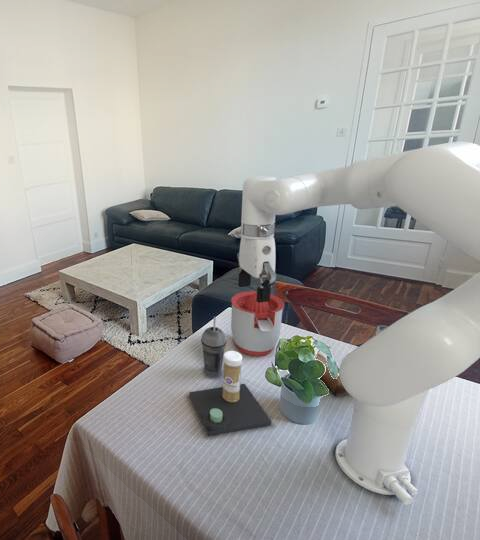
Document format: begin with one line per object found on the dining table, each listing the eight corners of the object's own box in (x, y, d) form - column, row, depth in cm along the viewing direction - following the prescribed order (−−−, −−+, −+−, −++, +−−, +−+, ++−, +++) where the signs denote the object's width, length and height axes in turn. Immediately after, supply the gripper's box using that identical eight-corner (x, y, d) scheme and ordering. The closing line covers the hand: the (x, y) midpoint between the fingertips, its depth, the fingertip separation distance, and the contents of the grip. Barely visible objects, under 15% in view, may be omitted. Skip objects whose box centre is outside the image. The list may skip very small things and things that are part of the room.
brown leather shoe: (363, 389, 90) (355, 374, 88) (340, 404, 91) (332, 389, 88) (316, 352, 107) (308, 338, 104) (297, 364, 107) (289, 351, 105)
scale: (271, 427, 82) (272, 417, 81) (208, 438, 80) (208, 428, 79) (244, 387, 95) (244, 378, 94) (189, 396, 94) (189, 387, 93)
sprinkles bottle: (220, 400, 89) (222, 358, 85) (223, 389, 93) (224, 348, 88) (238, 405, 87) (241, 362, 83) (240, 393, 91) (243, 351, 87)
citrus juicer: (238, 365, 105) (241, 308, 97) (224, 335, 121) (225, 284, 114) (289, 363, 104) (296, 305, 96) (268, 332, 120) (273, 281, 113)
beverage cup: (223, 365, 105) (224, 308, 98) (227, 380, 98) (230, 321, 91) (199, 365, 106) (199, 309, 99) (202, 380, 99) (202, 321, 92)
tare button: (224, 421, 81) (224, 416, 81) (212, 423, 81) (212, 418, 80) (219, 412, 84) (219, 407, 83) (207, 414, 84) (207, 409, 83)
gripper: (293, 236, 74) (286, 306, 80) (254, 220, 90) (250, 279, 96) (260, 240, 73) (256, 310, 79) (227, 223, 89) (225, 282, 95)
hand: (253, 293), depth 87 cm, fingers open, 9 cm apart
